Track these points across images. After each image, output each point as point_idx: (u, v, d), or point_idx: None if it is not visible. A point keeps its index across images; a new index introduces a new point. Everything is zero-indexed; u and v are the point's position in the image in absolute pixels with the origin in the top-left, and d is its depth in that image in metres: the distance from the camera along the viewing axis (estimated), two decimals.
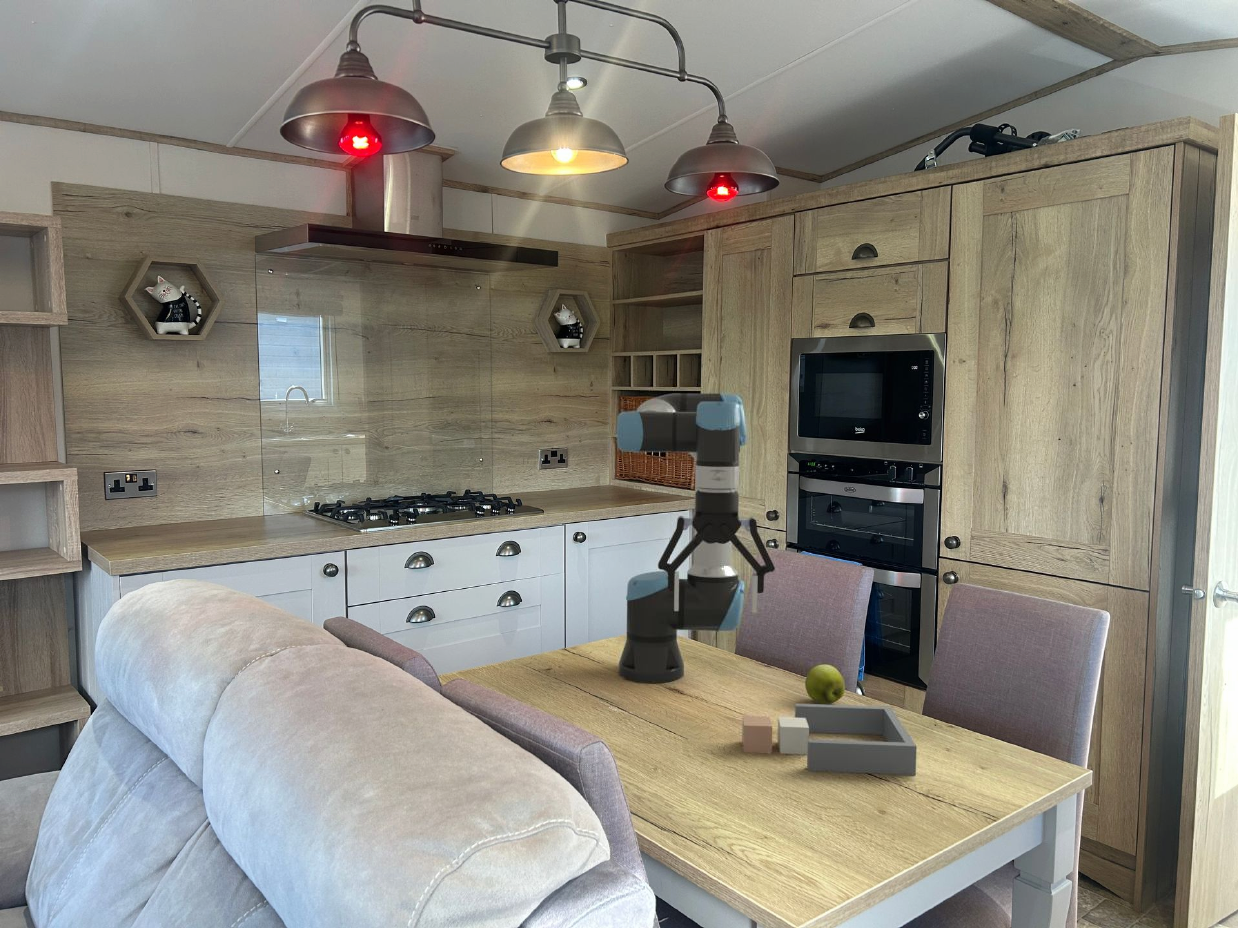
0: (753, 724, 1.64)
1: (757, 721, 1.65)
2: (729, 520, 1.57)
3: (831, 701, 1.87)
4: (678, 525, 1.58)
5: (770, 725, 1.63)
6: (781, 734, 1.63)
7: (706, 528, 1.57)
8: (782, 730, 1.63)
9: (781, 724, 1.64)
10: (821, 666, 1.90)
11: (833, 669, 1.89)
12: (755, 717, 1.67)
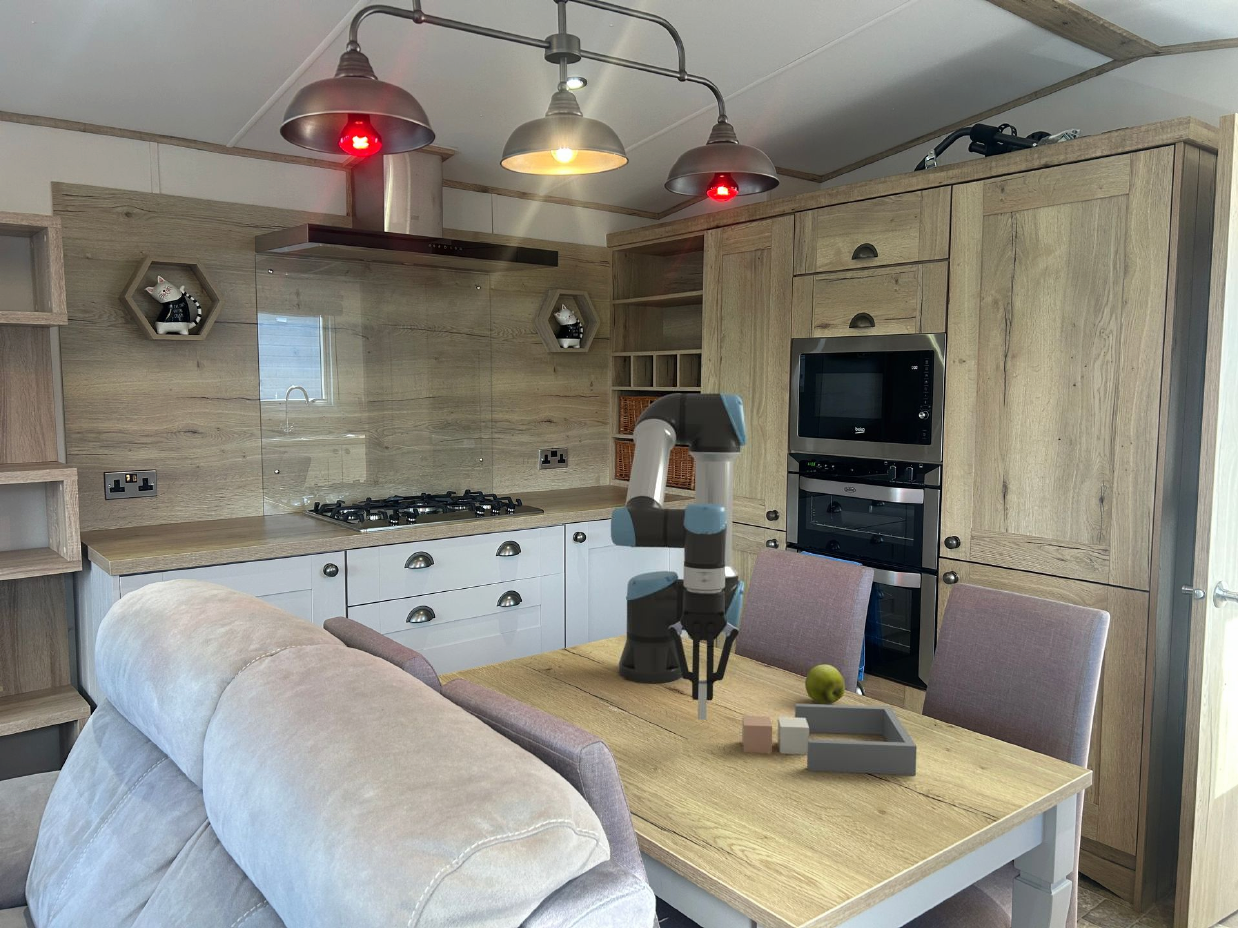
0: (752, 724, 1.64)
1: (757, 721, 1.65)
2: (719, 616, 1.64)
3: (831, 701, 1.87)
4: (672, 635, 1.64)
5: (770, 725, 1.63)
6: (781, 734, 1.63)
7: (694, 628, 1.63)
8: (782, 730, 1.63)
9: (781, 724, 1.64)
10: (821, 666, 1.90)
11: (833, 669, 1.89)
12: (755, 717, 1.67)
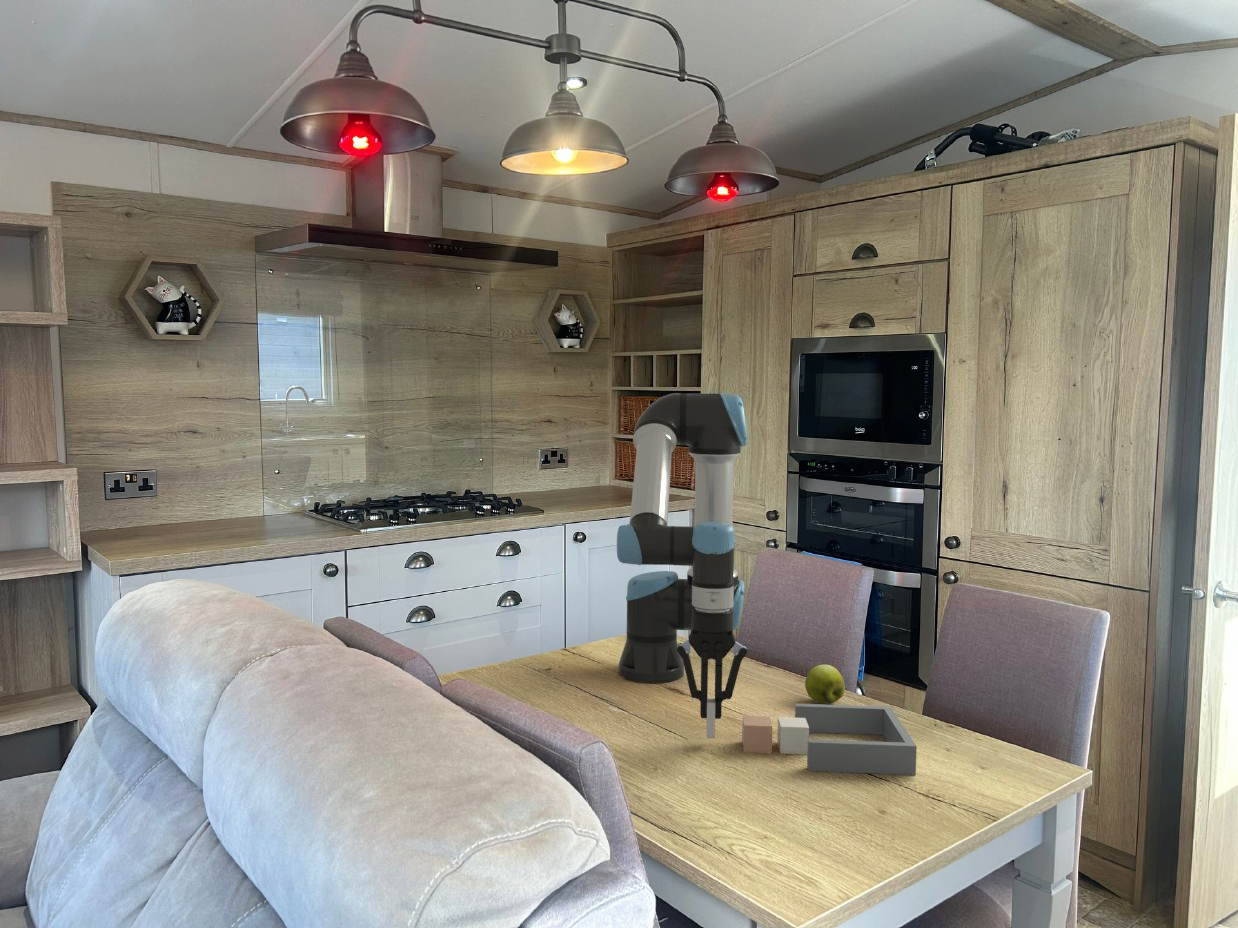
0: (753, 724, 1.64)
1: (758, 721, 1.65)
2: (727, 635, 1.64)
3: (831, 701, 1.87)
4: (681, 654, 1.65)
5: (770, 725, 1.63)
6: (781, 734, 1.63)
7: (703, 647, 1.63)
8: (782, 730, 1.63)
9: (781, 724, 1.64)
10: (821, 666, 1.90)
11: (833, 669, 1.89)
12: (755, 717, 1.67)
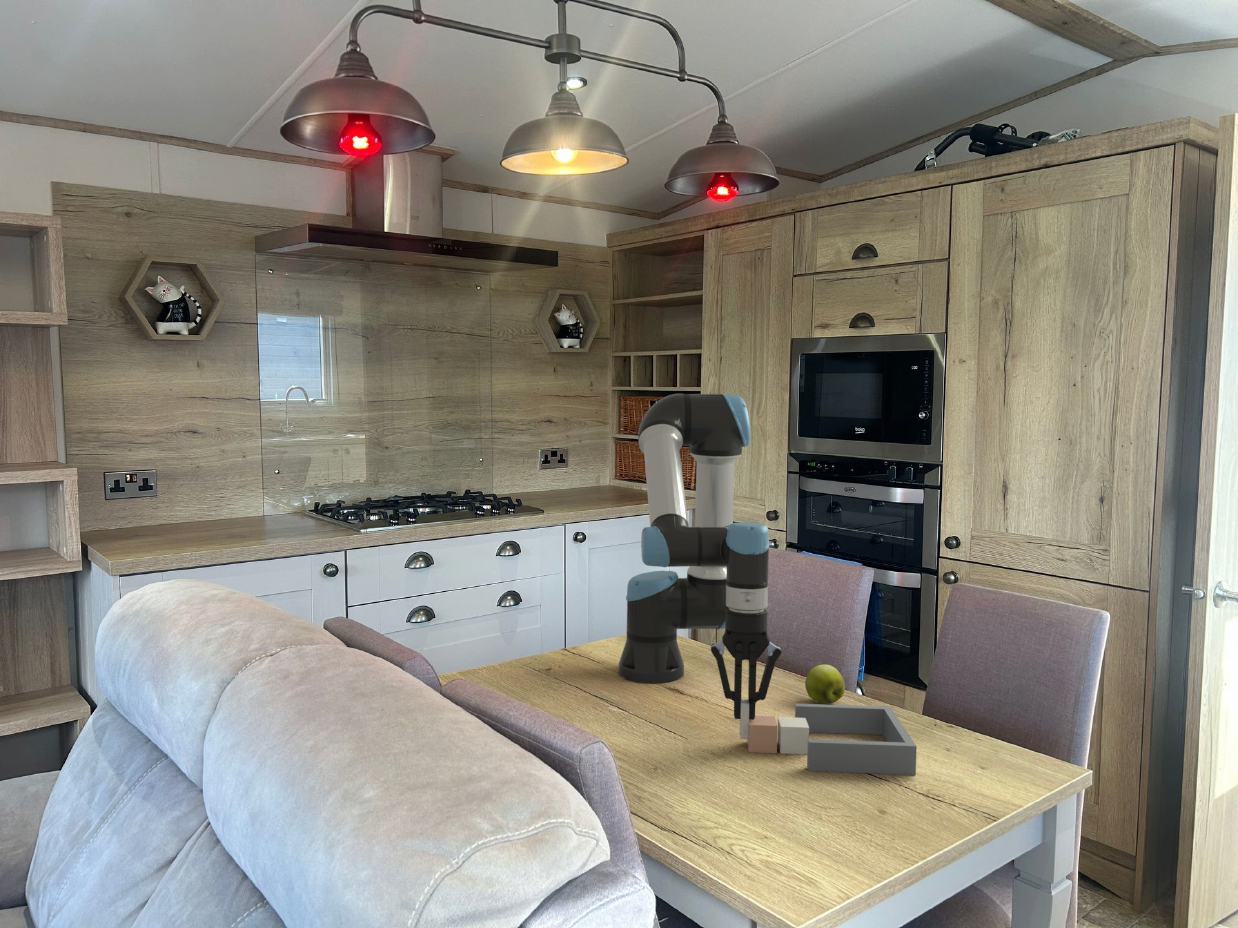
0: (758, 724, 1.63)
1: (763, 721, 1.65)
2: (761, 636, 1.63)
3: (831, 701, 1.87)
4: (715, 654, 1.64)
5: (775, 725, 1.63)
6: (781, 734, 1.63)
7: (737, 648, 1.63)
8: (782, 730, 1.63)
9: (781, 724, 1.64)
10: (821, 666, 1.90)
11: (833, 669, 1.89)
12: (760, 717, 1.67)
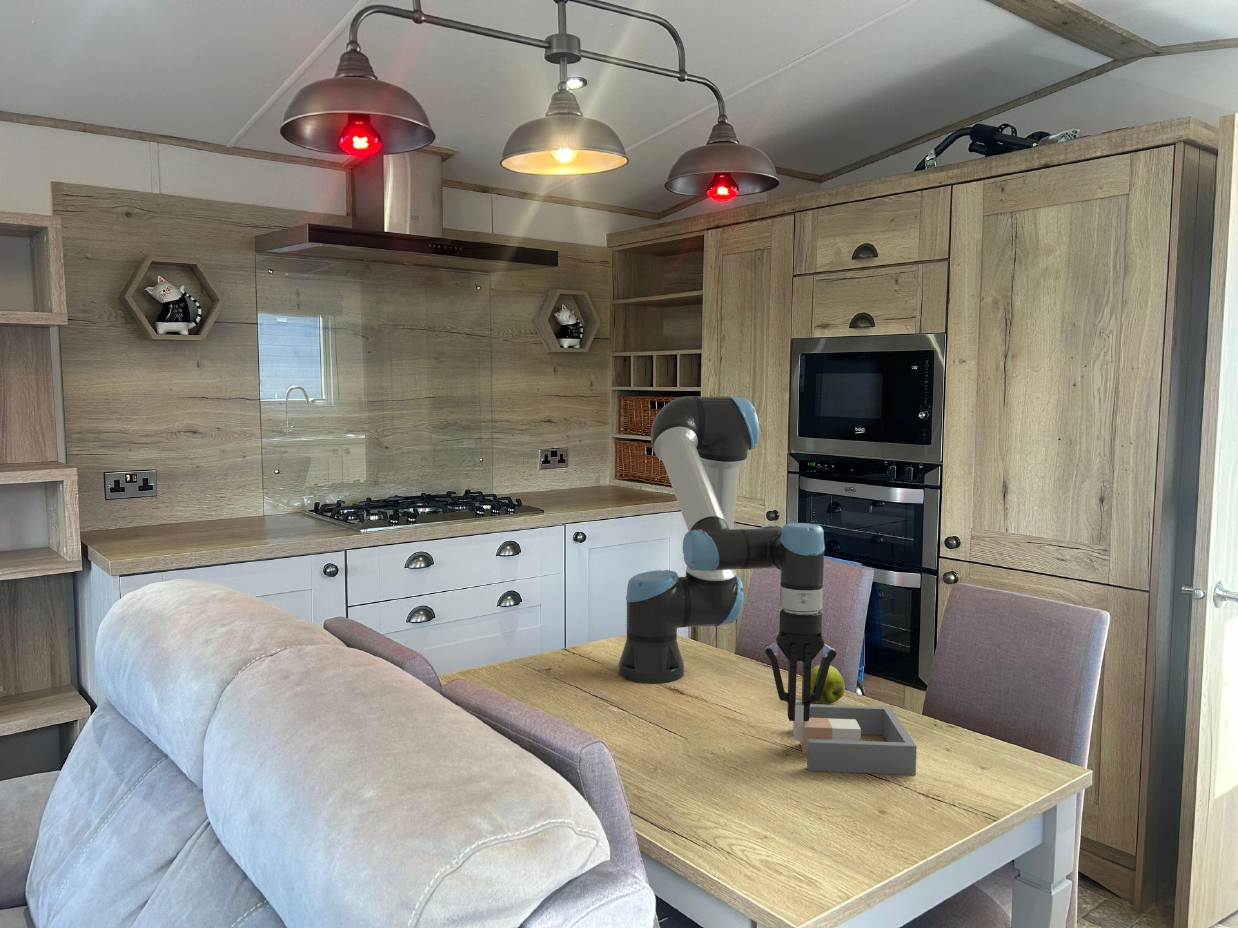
0: (812, 726, 1.63)
1: (817, 723, 1.64)
2: (816, 637, 1.62)
3: (831, 701, 1.87)
4: (769, 656, 1.63)
5: (830, 727, 1.62)
6: (833, 736, 1.62)
7: (792, 649, 1.62)
8: (834, 732, 1.62)
9: (832, 726, 1.63)
10: None
11: (833, 669, 1.89)
12: (814, 719, 1.66)
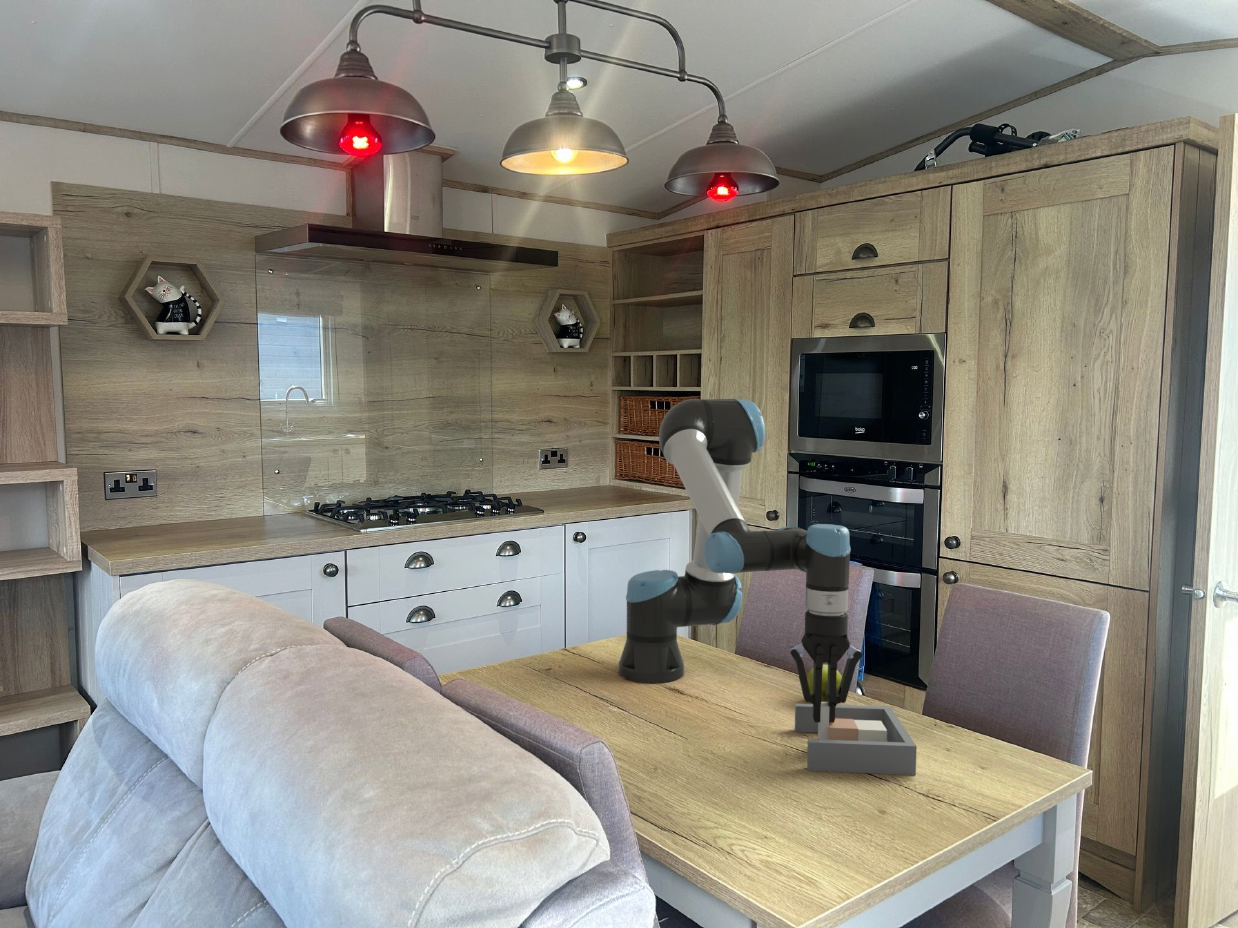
0: (838, 727, 1.62)
1: (842, 724, 1.64)
2: (842, 639, 1.62)
3: None
4: (795, 657, 1.63)
5: (856, 727, 1.62)
6: (859, 737, 1.62)
7: (818, 651, 1.62)
8: (860, 733, 1.62)
9: (858, 727, 1.63)
10: None
11: None
12: (839, 719, 1.66)
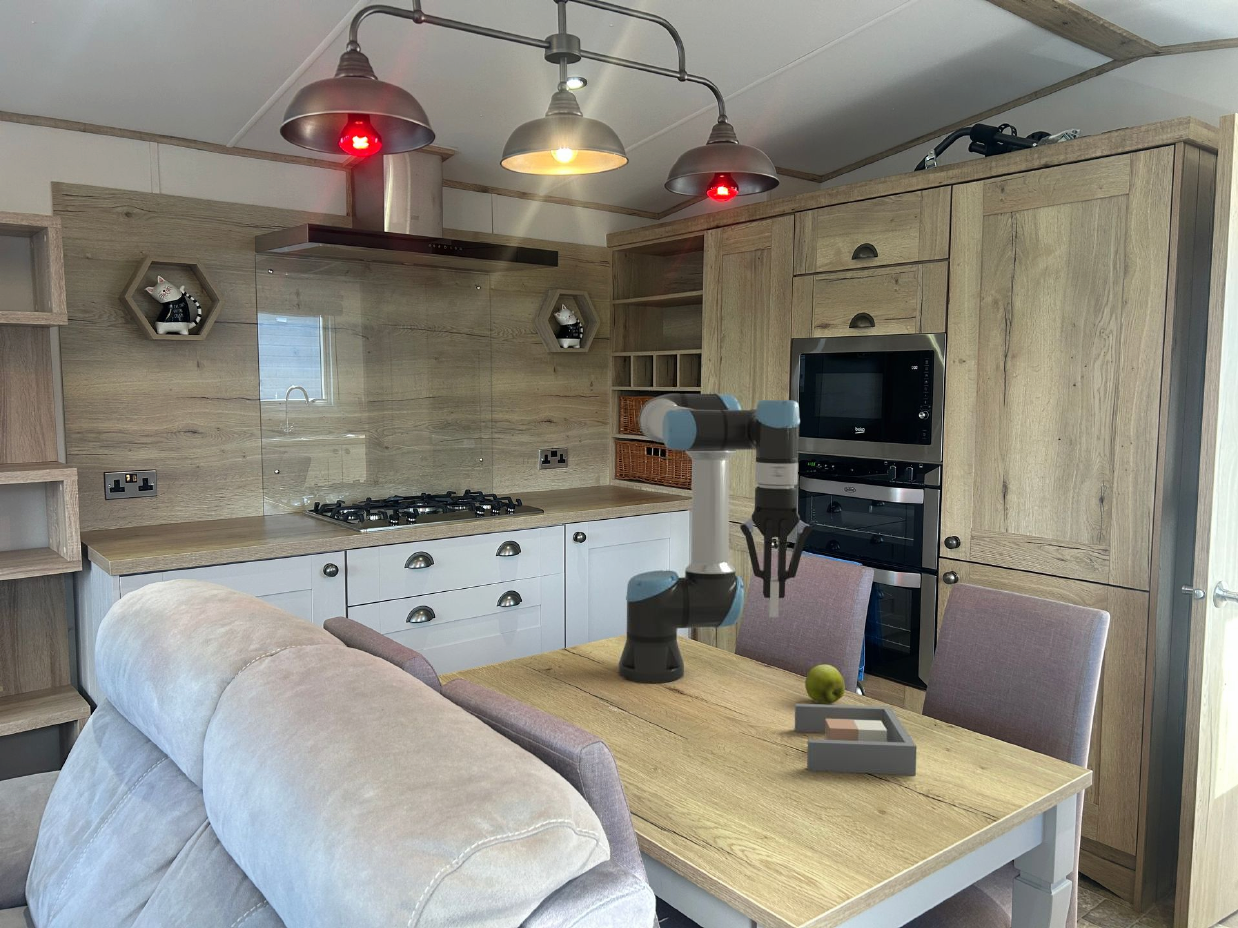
0: (838, 727, 1.62)
1: (842, 724, 1.64)
2: (791, 513, 1.62)
3: (831, 701, 1.87)
4: (744, 532, 1.63)
5: (856, 728, 1.62)
6: (859, 737, 1.62)
7: (767, 525, 1.62)
8: (860, 733, 1.62)
9: (858, 727, 1.63)
10: (821, 666, 1.90)
11: (833, 669, 1.89)
12: (839, 720, 1.66)
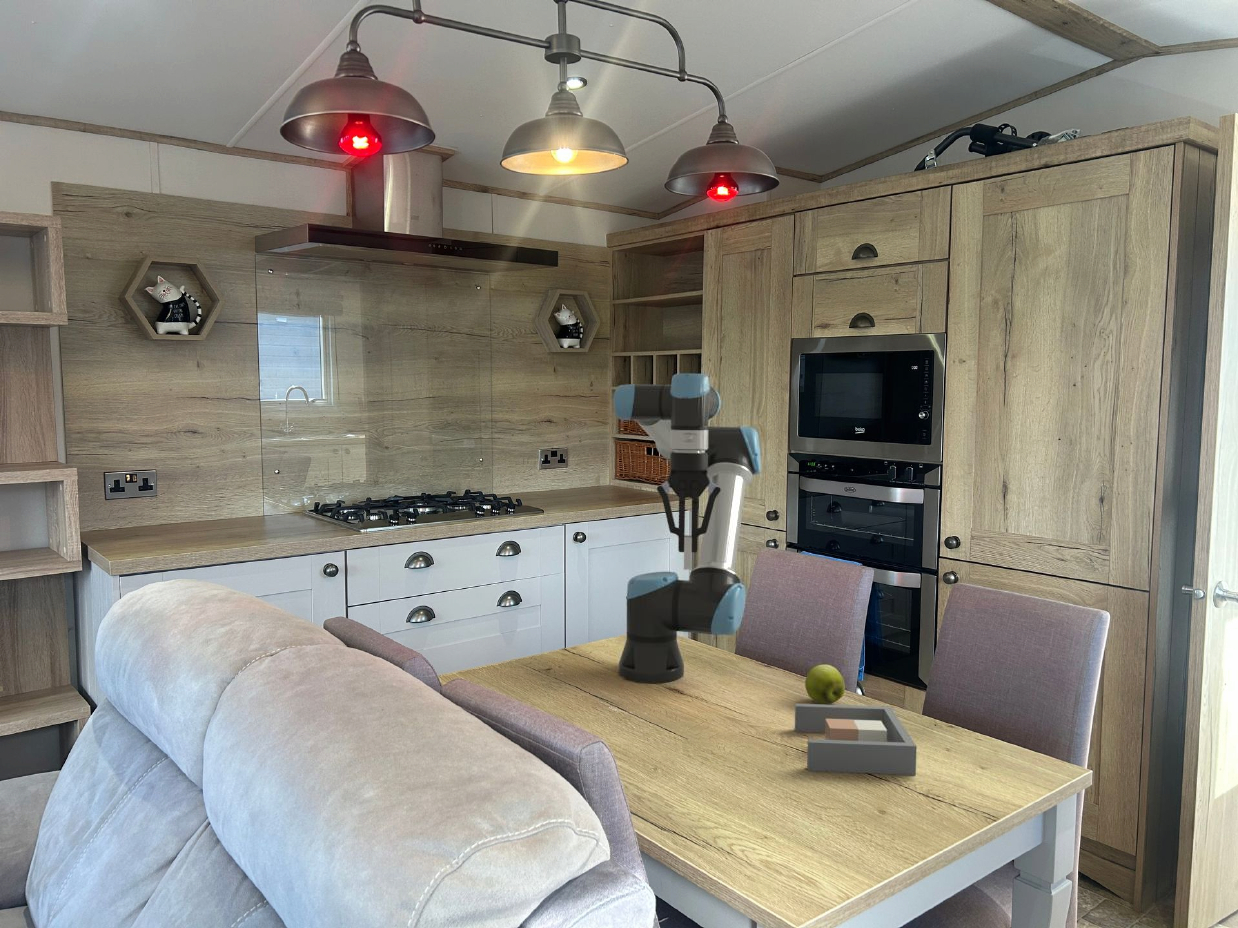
0: (838, 727, 1.62)
1: (842, 724, 1.64)
2: (702, 475, 1.80)
3: (831, 701, 1.87)
4: (660, 493, 1.81)
5: (856, 728, 1.62)
6: (859, 737, 1.62)
7: (680, 486, 1.80)
8: (860, 733, 1.62)
9: (858, 727, 1.63)
10: (821, 666, 1.90)
11: (833, 669, 1.89)
12: (839, 720, 1.66)
